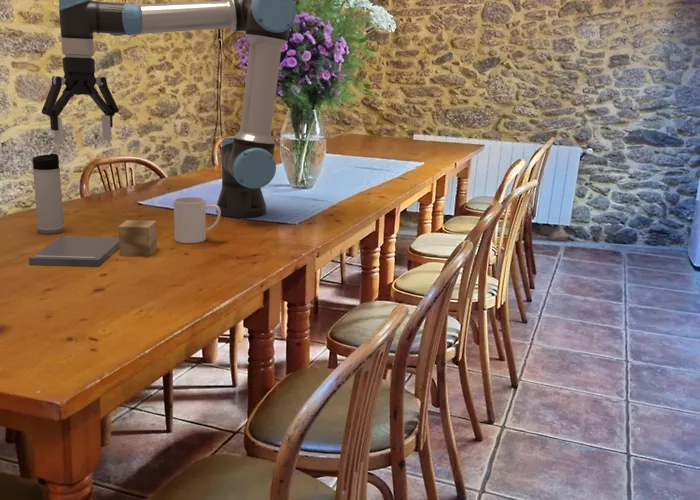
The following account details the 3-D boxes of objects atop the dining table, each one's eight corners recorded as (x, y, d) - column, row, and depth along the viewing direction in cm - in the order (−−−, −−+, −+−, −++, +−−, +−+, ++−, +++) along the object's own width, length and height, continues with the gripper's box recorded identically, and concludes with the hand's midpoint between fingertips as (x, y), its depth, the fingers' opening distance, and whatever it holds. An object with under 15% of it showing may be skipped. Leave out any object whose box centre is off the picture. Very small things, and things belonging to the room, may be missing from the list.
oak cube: (157, 248, 168) (156, 220, 166) (150, 256, 161) (148, 227, 159) (128, 247, 167) (126, 219, 165) (119, 255, 161) (118, 226, 159)
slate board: (123, 243, 171) (123, 236, 170) (98, 266, 151) (97, 259, 151) (62, 241, 170) (62, 235, 169) (29, 264, 151) (28, 257, 150)
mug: (169, 242, 174) (168, 201, 171) (182, 235, 181) (181, 196, 178) (214, 246, 171) (214, 205, 169) (226, 239, 179) (225, 199, 176)
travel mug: (70, 230, 181) (65, 154, 176) (52, 235, 175) (46, 157, 170) (51, 227, 183) (45, 152, 178) (32, 232, 177) (26, 155, 172)
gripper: (113, 57, 183) (117, 137, 189) (22, 54, 164) (29, 143, 169) (130, 58, 179) (133, 140, 184) (38, 55, 159) (45, 146, 165)
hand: (83, 142), depth 177 cm, fingers open, 13 cm apart
